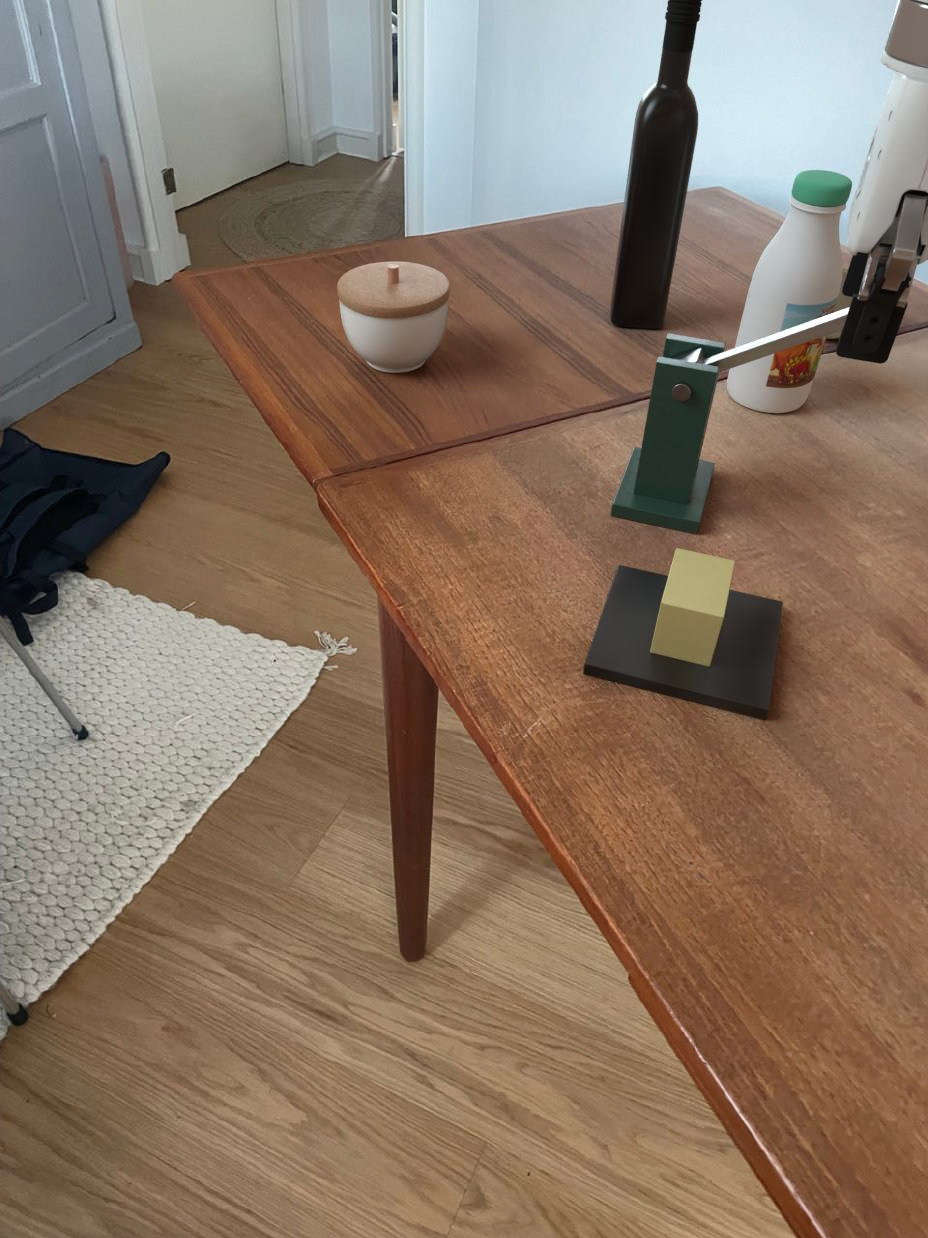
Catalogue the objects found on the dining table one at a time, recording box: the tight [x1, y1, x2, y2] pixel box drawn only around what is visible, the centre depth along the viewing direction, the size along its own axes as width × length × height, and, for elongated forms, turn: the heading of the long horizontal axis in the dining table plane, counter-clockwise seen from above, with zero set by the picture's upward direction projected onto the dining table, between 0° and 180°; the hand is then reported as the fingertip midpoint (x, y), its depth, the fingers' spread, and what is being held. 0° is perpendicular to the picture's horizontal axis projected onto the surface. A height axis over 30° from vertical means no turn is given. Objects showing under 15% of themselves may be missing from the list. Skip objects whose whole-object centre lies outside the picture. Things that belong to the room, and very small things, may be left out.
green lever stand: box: [610, 333, 727, 535], centre depth 73 cm, size 7×9×13 cm
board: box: [582, 564, 784, 721], centre depth 65 cm, size 12×11×1 cm
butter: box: [650, 547, 736, 667], centre depth 63 cm, size 4×6×4 cm, turn 161°
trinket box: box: [336, 260, 451, 374], centre depth 91 cm, size 11×11×9 cm
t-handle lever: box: [672, 308, 849, 374], centre depth 67 cm, size 15×5×2 cm
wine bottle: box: [609, 0, 703, 330], centre depth 92 cm, size 6×6×30 cm
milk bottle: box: [726, 169, 853, 414], centre depth 83 cm, size 8×8×20 cm
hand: (862, 325), depth 64 cm, fingers open, 9 cm apart
